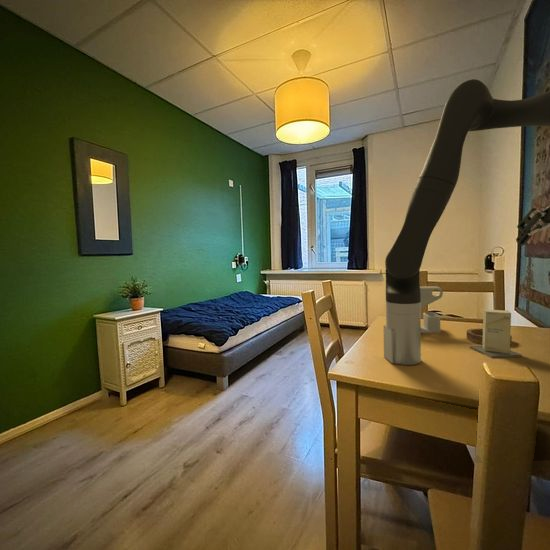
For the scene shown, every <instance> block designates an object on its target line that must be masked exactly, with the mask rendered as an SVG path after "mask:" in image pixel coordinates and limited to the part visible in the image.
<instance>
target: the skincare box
mask: <svg viewBox="0 0 550 550" xmlns="http://www.w3.org/2000/svg"><path fill="white" fill-rule="evenodd" d="M482 314H483V315H482V316H483V317H482V329H483V341H482V344H481V346H482V347H483V349H484V350H485V351H492V352H500V353H510V350H511V344H510V335H511V330H512V329H511V328H512V326H511V325H512V312H510V310H504V309H503V310H501V309H485V308H484V309H483V313H482Z"/></svg>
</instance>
